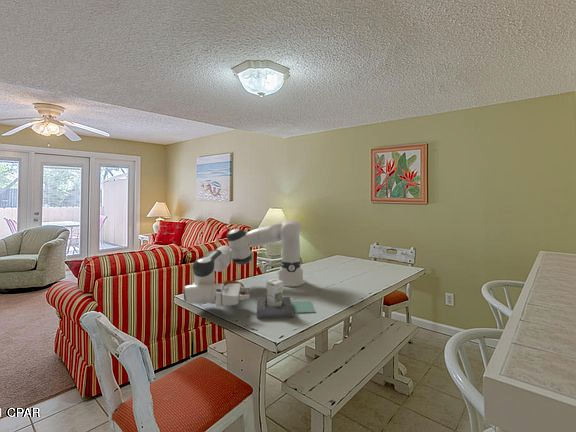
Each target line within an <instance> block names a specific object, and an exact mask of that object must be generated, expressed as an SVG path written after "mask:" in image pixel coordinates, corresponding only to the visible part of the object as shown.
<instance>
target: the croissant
mask: <svg viewBox="0 0 576 432" xmlns="http://www.w3.org/2000/svg"><path fill="white" fill-rule="evenodd" d="M235 283H239V284H241V287H245V284H243V283H242V282H239V281H237V280H226V281H224V282H223V283H222V284H224V286H225V285H227V284H235ZM245 294H246V292H244V291H243V292H241V293H240V295H245Z"/></svg>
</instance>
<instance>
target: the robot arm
mask: <svg viewBox="0 0 576 432" xmlns="http://www.w3.org/2000/svg"><path fill="white" fill-rule="evenodd" d="M301 231H302V226H301V223H300V222H299V221H298V220H296V219H288V220H284V221H281V222H277V223H273V224H270V225H269V224H268V225H265V226H262V227H258V228H255V229H254V228H253V229H251V230H249V231H245V230H243V229H241V228H235V229H231V230H230V231H228V232H227V234H226V240H227V243H228V245H221V246H219V247H218V248H216V249H211V250H210V251H208V252H207V253H206V254H204V256H202V257H200V258H198V259H196V260H195V261H194V262H193V263H192V265H191V266H192V271H193V272H192V273H193V283H192V284H187V285H184V288H183V300H184V302H185V303H187V304H193V305H204V304H214V305H215V306H216V307H218V308H219V307H220V308H221V307H222V306H224V307H225V306H226V307H227V306H236V305H239V302H240V301H243V300H249V299H250V297H251V296H250V295H251V294H249V293H250V292H251V288H250V287H246V286H244V287H241V284H239V283H235V284H227V285H225V286H224V284H223V283H216V277H215V276H216V274H215V273H216V272H223V271H225V270H226V269H227V268H228V266H229V265H230V263H231V262H232V263H235V264H236V265H247V264H248V263H250V262H251V261H252V259H253V255H252V252H251V248H255V247H261V246H266V245H271V244H275V243H278V242H280V243H281V261H280V268H279V270H278V271H277V277H276V279H277V280H280V281H283V287H299V286H301V285H304V284H306V283H307V282H306V281H305V280H304V271H303V269H302V268H301V245H300V244H301V243H300V234H301ZM243 291H244V292H245V294H243V295H240V293H241V292H243Z"/></svg>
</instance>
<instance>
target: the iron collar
mask: <svg viewBox="0 0 576 432" xmlns="http://www.w3.org/2000/svg"><path fill="white" fill-rule="evenodd" d="M256 299H257V300H256V320H258V319H259V320H260V319H288V318H289V319H292V318H294V312H293V307H292V304H291V302H292V300H291V297H290V296H283V302H282V306H266V296H265V297H263V296H262V297H257V298H256Z"/></svg>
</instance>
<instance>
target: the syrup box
mask: <svg viewBox="0 0 576 432" xmlns="http://www.w3.org/2000/svg"><path fill="white" fill-rule="evenodd" d="M265 284H266V285H265V297H266V306H282V302H283V297H284V296H283V295H284V294H283V293H284V286H283V281H280V280H277V278H273V279H270V280H267V281H266V282H265Z"/></svg>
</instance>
